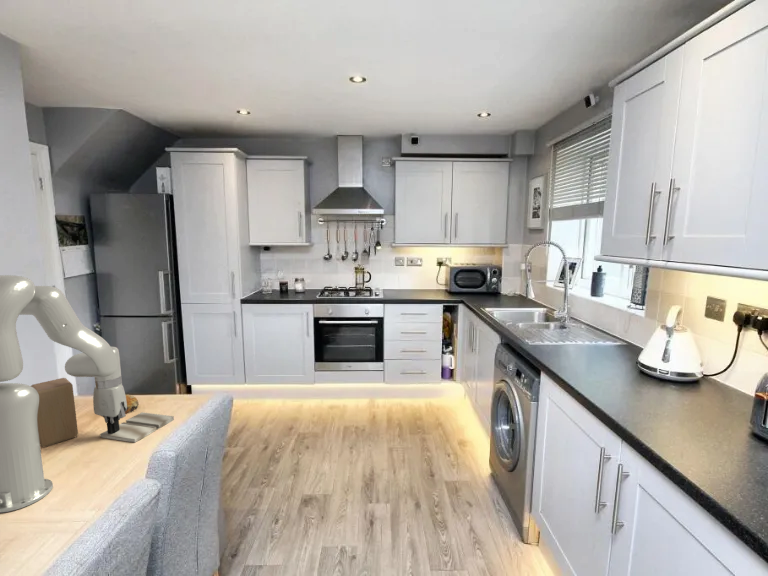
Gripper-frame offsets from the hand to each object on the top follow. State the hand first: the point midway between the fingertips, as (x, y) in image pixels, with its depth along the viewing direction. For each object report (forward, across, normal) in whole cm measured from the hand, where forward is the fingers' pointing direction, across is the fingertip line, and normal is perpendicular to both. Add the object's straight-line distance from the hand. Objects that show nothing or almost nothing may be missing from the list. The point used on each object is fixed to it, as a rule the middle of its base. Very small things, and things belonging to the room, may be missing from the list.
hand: (113, 432), depth 135 cm
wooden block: (+2, -18, -6) cm, 19 cm away
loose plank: (+1, +4, +2) cm, 5 cm away
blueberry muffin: (+2, -15, +18) cm, 23 cm away
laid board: (+1, +4, +12) cm, 12 cm away
